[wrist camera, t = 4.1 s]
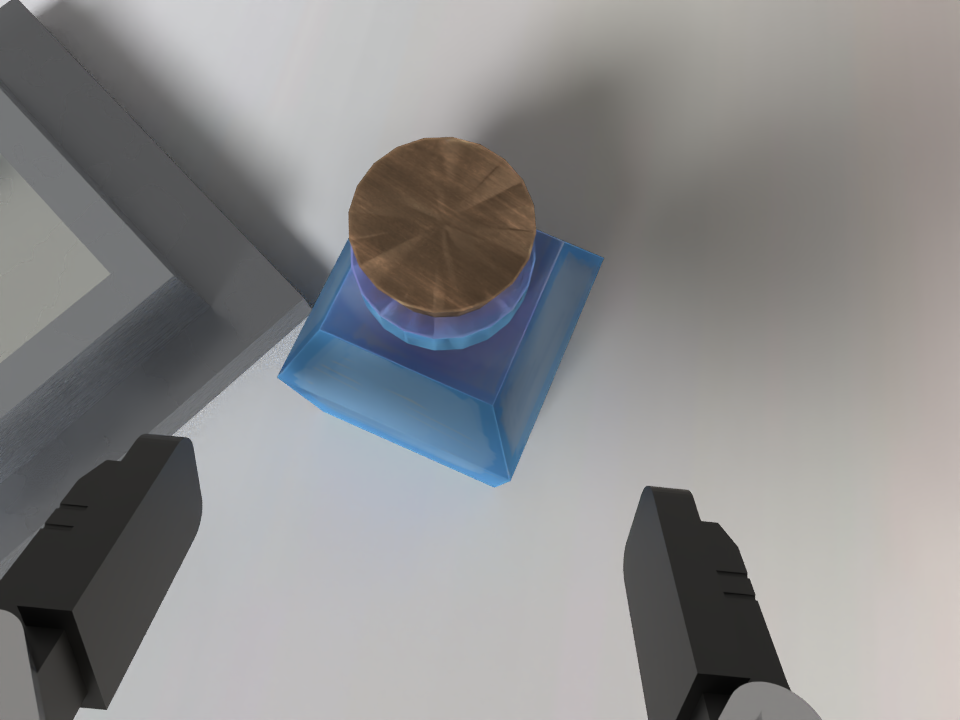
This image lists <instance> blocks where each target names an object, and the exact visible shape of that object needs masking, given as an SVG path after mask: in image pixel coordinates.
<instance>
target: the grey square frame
mask: <svg viewBox="0 0 960 720" xmlns="http://www.w3.org/2000/svg"><path fill="white" fill-rule="evenodd" d="M311 310H312V309H311V307H310V306H309V305H308V303H307V302H306V300H305V299H304V298H303V297H302V296H301V295H300V294H299V293H298V291H297V290H296V289H295V288H294V287H293V286H292V285H291V284H290V283H289V282H288V281H287V280H286V279H285V278H284V277H283V276H282V275H281V274H280V273H279V272H278V271H277V270H276V268H275V267H274V266H273V265H272V264H271V263H270V262H269V261H268V260H267V259H266V258H265V257H264V256H263V255H262V254H261V253H260V252H259V251H258V250H257V249H256V248H255V247H254V245H253V244H252V243H251V242H250V241H249V240H248V239H247V238H246V237H245V236H244V235H243V234H242V233H241V232H240V231H239V230H238V229H237V228H236V227H235V226H234V225H233V224H232V222H231V221H230V220H229V219H228V218H227V217H226V216H225V215H224V214H223V213H222V212H221V211H220V210H219V209H218V208H217V207H216V206H215V205H214V204H213V203H212V202H211V201H210V199H209V198H208V197H207V196H206V195H205V194H204V193H203V192H202V191H201V190H200V189H199V188H198V187H197V186H196V185H195V184H194V183H193V182H192V181H191V180H190V179H189V178H188V176H187V175H186V174H185V173H184V172H183V171H182V170H181V169H180V168H179V167H178V166H177V165H176V164H175V163H174V162H173V161H172V160H171V159H170V158H169V157H168V156H167V155H166V153H165V152H164V151H163V150H162V149H161V148H160V147H159V146H158V145H157V144H156V143H155V142H154V141H153V140H152V139H151V138H150V137H149V136H148V135H147V134H146V133H145V132H144V130H143V129H142V128H141V127H140V126H139V125H138V124H137V123H136V122H135V121H134V120H133V119H132V118H131V117H130V116H129V115H128V114H127V113H126V112H125V111H124V110H123V109H122V107H121V106H120V105H119V104H118V103H117V102H116V101H115V100H114V99H113V98H112V97H111V96H110V95H109V94H108V93H107V92H106V91H105V90H104V89H103V88H102V87H101V86H100V84H99V83H98V82H97V81H96V80H95V79H94V78H93V77H92V76H91V75H90V74H89V73H88V72H87V71H86V70H85V69H84V68H83V67H82V66H81V65H80V64H79V63H78V61H77V60H76V59H75V58H74V57H73V56H72V55H71V54H70V53H69V52H68V51H67V50H66V49H65V48H64V47H63V46H62V45H61V44H60V43H59V42H58V41H57V40H56V38H55V37H54V36H53V35H52V34H51V33H50V32H49V31H48V30H47V29H46V28H45V27H44V26H43V25H42V24H41V23H40V22H39V21H38V20H37V19H36V18H35V17H34V15H33V14H32V13H31V12H30V11H29V10H28V9H27V8H26V7H25V6H24V5H23V4H22V3H21V2H20V1H19V0H11V1H9V2H8V3H6V4H5V5H3V6H2V7H1V8H0V580H1V579H2V578H3V576H4V575H5V574H6V572H7V571H8V570H9V568H10V567H11V566H12V565H13V563H14V562H15V561H16V559H17V558H18V557H19V556H20V554H21V553H22V552H23V550H24V549H25V548H26V547H27V545H28V544H29V543H30V541H31V540H32V539H33V537H34V536H35V535H36V534H37V532H38V531H39V530H40V528H42V529H43V528H44V526H45V522H46V521H47V519H48V518H49V517H50V515H51V514H52V513H53V512H54V510H55V509H56V508H59V507H60V503H61V501H62V500H63V499H64V497H65V496H66V495H67V494H68V492H69V491H70V490H71V488H72V487H73V486H74V484H75V483H76V482H77V481H78V479H80V478H81V477H83V476H84V475H86V474H87V473H88V472H90V471H91V470H93V469H94V468H96V467H97V466H99V465H100V464H101V463H103V462H104V461H106V460H114V461H121V460H122V459H123V457H124V456H125V455H126V453H127V452H128V451H129V449H130V448H131V446H132V445H133V444H134V442H135V441H136V440H137V438H138V437H139V436H140V435H142V434H156V435H166V436H171V435H172V434H174V433H175V432H176V431H177V430H178V429H179V428H180V427H182V426H183V425H184V424H185V423H186V422H187V421H188V420H190V419H191V418H192V417H193V416H194V415H195V414H196V413H198V412H199V411H200V410H201V409H202V408H203V407H204V406H206V405H207V404H208V403H209V402H210V401H211V400H212V399H214V398H215V397H216V396H217V395H218V394H219V393H220V392H222V391H223V390H224V389H225V388H226V387H227V386H228V385H230V384H231V383H232V382H233V381H234V380H235V379H236V378H238V377H239V376H240V375H241V374H242V373H243V372H244V371H246V370H247V369H248V368H249V367H250V366H251V365H252V364H254V363H255V362H256V361H257V360H258V359H259V358H260V357H262V356H263V355H264V354H265V353H266V352H267V351H268V350H270V349H271V348H272V347H273V346H274V345H275V344H276V343H278V342H279V341H280V340H281V339H282V338H283V337H284V336H286V335H287V334H288V333H289V332H290V331H291V330H292V329H294V328H295V327H296V326H297V325H298V324H299V323H300V322H302V321H303V320H304V319H305V318H306V317H307V316H308V315H309V314H310V312H311Z"/></svg>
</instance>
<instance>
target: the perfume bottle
mask: <svg viewBox="0 0 960 720" xmlns="http://www.w3.org/2000/svg"><path fill="white" fill-rule="evenodd" d="M603 259H604V258H603V257H601V256H598V255H596V254H593V253H591V252H589V251H586V250H584V249H582V248H579V247H577V246H575V245H572V244H570V243H568V242H565V241H563V240H560V239H558V238H556V237H553V236H551V235H549V234H546V233H544V232H542V231H539V230H537V229H536V224H535V212H534V204H533V202H532V199H531V197H530V195H529V193H528V190H527V188H526V186H525V183H524V181H523V179H522V178H521V177H520V176H519V175H518V174H517V173H516V171H515V170H514V169H513V168H512V167H511V166H510V165H509V164H508V162H507V161H506V160H505V159H504V158H502V157H500V156H499V155H497V154H495V153H494V152H492V151H490V150H489V149H487V148H485V147H484V146H482V145H481V144H477V143H473V142H469V141H465V140H462V139H458V138H454V137H442V138H423V139H420V140H417V141H414V142H411V143H408V144H405V145H402V146H399V147H396V148H395V149H393V150H392V151H391V152H389V153H388V154H386V155H385V156H384V157H382V158H381V159H379V160H378V161H377V162H375V163H374V164H373V165H372V167H371V168H370V169H369V171H368V172H367V173H366V175H365V176H364V177H363V179H362V180H361V181H360V183H359V184H358V185H357V188H356V191H355V194H354V197H353V200H352V203H351V206H350V209H349V238H348V240H347V242H346V244H345V246H344V248H343V250H342V252H341V254H340V256H339V258H338V260H337V262H336V264H335V266H334V268H333V270H332V271H331V273H330V275H329V277H328V279H327V281H326V283H325V285H324V287H323V289H322V291H321V293H320V295H319V297H318V299H317V301H316V303H315V305H314V307H313V309H312V310H311V312H310V314H309V316H308V318H307V320H306V322H305V324H304V326H303V328H302V330H301V332H300V334H299V336H298V338H297V340H296V342H295V344H294V346H293V347H292V349H291V351H290V353H289V355H288V357H287V359H286V361H285V363H284V365H283V367H282V369H281V371H280V373H279V375H278V377H277V378H279V379H280V380H281V381H283V382H284V383H285V384H287V385H288V386H290V387H291V388H292V389H294V390H295V391H296V392H298V393H299V394H300V395H302V396H303V397H304V398H306V399H307V400H309V401H310V402H311V403H313V404H314V405H315V406H317V407H318V408H319V409H321V410H322V411H324V412H326V413H328V414H330V415H332V416H335V417H337V418H339V419H341V420H344V421H346V422H348V423H350V424H353V425H355V426H357V427H359V428H362V429H364V430H366V431H368V432H371V433H373V434H375V435H377V436H380V437H382V438H384V439H386V440H389V441H391V442H393V443H395V444H398V445H400V446H402V447H404V448H407V449H409V450H411V451H413V452H416V453H418V454H420V455H422V456H425V457H427V458H429V459H431V460H434V461H436V462H438V463H440V464H443V465H445V466H447V467H449V468H452V469H454V470H456V471H458V472H461V473H463V474H465V475H467V476H470V477H472V478H474V479H476V480H479V481H481V482H483V483H485V484H488V485H490V486H492V487H497V486H499V485H502V484H504V483H506V482H509V481H511V478H512V476H513V474H514V471H515V469H516V466H517V464H518V462H519V459H520V457H521V454H522V452H523V450H524V447H525V445H526V443H527V440H528V438H529V435H530V433H531V431H532V428H533V426H534V423H535V421H536V419H537V416H538V414H539V412H540V409H541V407H542V404H543V402H544V400H545V397H546V395H547V393H548V390H549V388H550V385H551V383H552V381H553V378H554V376H555V373H556V371H557V369H558V366H559V364H560V362H561V359H562V357H563V354H564V352H565V350H566V347H567V345H568V343H569V340H570V338H571V335H572V333H573V331H574V328H575V326H576V323H577V321H578V319H579V316H580V314H581V312H582V309H583V307H584V304H585V302H586V300H587V297H588V295H589V293H590V290H591V288H592V285H593V283H594V281H595V278H596V276H597V273H598V271H599V269H600V266H601V264H602V262H603Z"/></svg>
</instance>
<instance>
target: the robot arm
mask: <svg viewBox="0 0 960 720" xmlns="http://www.w3.org/2000/svg"><path fill="white" fill-rule="evenodd" d="M201 516H202V496H201V490H200V484H199V478H198V472H197V466H196V460H195V454H194V448H193V444H192V442H191V440H190V439H189V438H186V437H176V436H166V435H156V434H142V435H140V436H139V437H138V438H137V440H136V441H135V442H134V444H133V445H132V446H131V448H130V449H129V451H128V452H127V453H126V455H125V456H124V457H123V459H122V460H121V461H114V460H106V461H104V462H103V463H101V464H100V465H99V466H97V467H96V468H94V469H93V470H91V471H90V472H88V473H87V474H86V475H84V476H83V477H81V478H80V479H78V481H77V482H76V483H75V484H74V486H73V487H72V488H71V490H70V491H69V492H68V494H67V495H66V496H65V497H64V499H63V500H62V501H61V503H60V507H59V508H56V509H55V510H54V512H53V513H52V514H51V515H50V517H49V518H48V519H47V521H46V522H45V526H44V528H43V529H42V528H40V530H39V531H38V532H37V534H36V535H35V536H34V537H33V539H32V540H31V541H30V543H29V544H28V545H27V547H26V548H25V549H24V550H23V552H22V553H21V554H20V556H19V557H18V558H17V559H16V561H15V562H14V563H13V565H12V566H11V567H10V568H9V570H8V571H7V572H6V574H5V575H4V576H3V578H2V579H1V580H0V720H73V719H74V717H75V715H76V713H77V712H78V710H79V708H80V707H82V708H92V709H103V710H107V708H108V706H109V704H110V702H111V700H112V698H113V697H114V695H115V693H116V691H117V689H118V687H119V685H120V683H121V681H122V679H123V677H124V675H125V673H126V671H127V669H128V667H129V665H130V663H131V661H132V659H133V657H134V656H135V654H136V652H137V650H138V648H139V646H140V644H141V642H142V640H143V638H144V636H145V634H146V632H147V630H148V628H149V626H150V624H151V622H152V620H153V618H154V616H155V614H156V613H157V611H158V609H159V607H160V605H161V603H162V601H163V599H164V597H165V595H166V593H167V591H168V589H169V587H170V585H171V583H172V581H173V579H174V577H175V575H176V573H177V572H178V570H179V568H180V566H181V564H182V562H183V560H184V558H185V556H186V554H187V552H188V550H189V548H190V546H191V544H192V542H193V540H194V538H195V536H196V534H197V531H198V528H199V525H200V521H201ZM623 571H624V582H625V588H626V593H627V599H628V605H629V611H630V617H631V622H632V628H633V634H634V640H635V646H636V651H637V657H638V663H639V669H640V675H641V680H642V686H643V692H644V698H645V704H646V709H647V715H648V720H822V719H821V718H820V716H819V715H818V714H817V713H816V712H815V710H814V709H813V708H812V707H811V706H810V705H809V704H808V703H807V702H806V701H804V700H803V699H802V698H801V697H799V696H798V695H796V694H795V693H793V692H792V691H791V690H790V687H789V685H788V683H787V680H786V678H785V675H784V672H783V669H782V667H781V664H780V661H779V658H778V656H777V653H776V650H775V647H774V645H773V642H772V639H771V636H770V634H769V631H768V628H767V625H766V623H765V620H764V617H763V614H762V612H761V609H760V606H759V603H758V601H756V600H755V592H754V590H753V587H752V584H751V581H750V579H748V578H747V574H748V573H747V570H746V568H745V565H744V562H743V559H742V557H741V554H740V551H739V548H738V546H737V545H736V544H735V543H734V542H733V540H732V539H731V538H730V537H729V536H728V534H727V533H726V532H725V531H724V530H723V528H722V527H721V526H720V525H719V524H718V523H714V522H704V521H701V520H700V517H699V514H698V511H697V508H696V504H695V501H694V498H693V495H692V494H691V492H690V491H689V490H683V489H673V488H663V487H653V486H646V487H645V488H644V490H643V492H642V494H641V498H640V501H639V504H638V507H637V510H636V513H635V517H634V520H633V523H632V526H631V529H630V533H629V536H628V539H627V542H626V546H625V552H624V563H623Z"/></svg>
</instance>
